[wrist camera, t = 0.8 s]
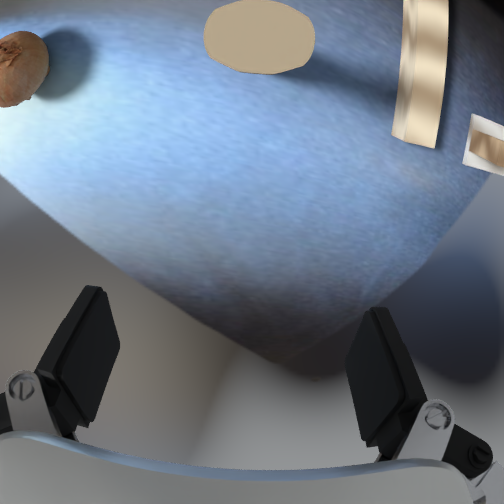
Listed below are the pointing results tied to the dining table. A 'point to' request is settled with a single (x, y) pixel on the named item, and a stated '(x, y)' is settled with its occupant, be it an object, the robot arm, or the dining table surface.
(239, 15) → the handle
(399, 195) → the dining table surface
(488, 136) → the wooden block on base
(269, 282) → the dining table surface
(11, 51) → the onion
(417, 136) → the beam
